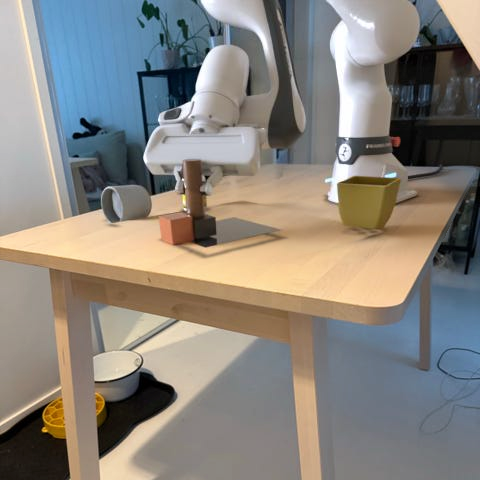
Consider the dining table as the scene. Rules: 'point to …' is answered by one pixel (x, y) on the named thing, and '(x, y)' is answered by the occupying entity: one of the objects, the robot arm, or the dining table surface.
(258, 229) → the polished metal plate
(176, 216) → the terracotta orange cube
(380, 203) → the flower pot
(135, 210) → the ceramic mug
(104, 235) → the dining table surface
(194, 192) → the mallet with wooden handle
